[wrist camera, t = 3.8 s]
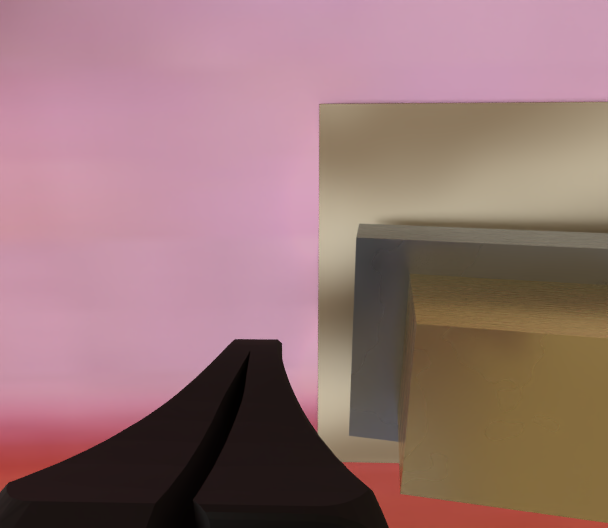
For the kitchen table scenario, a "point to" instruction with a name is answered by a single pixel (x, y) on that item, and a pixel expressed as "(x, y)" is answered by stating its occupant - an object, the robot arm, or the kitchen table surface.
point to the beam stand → (440, 202)
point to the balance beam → (443, 262)
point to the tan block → (506, 394)
